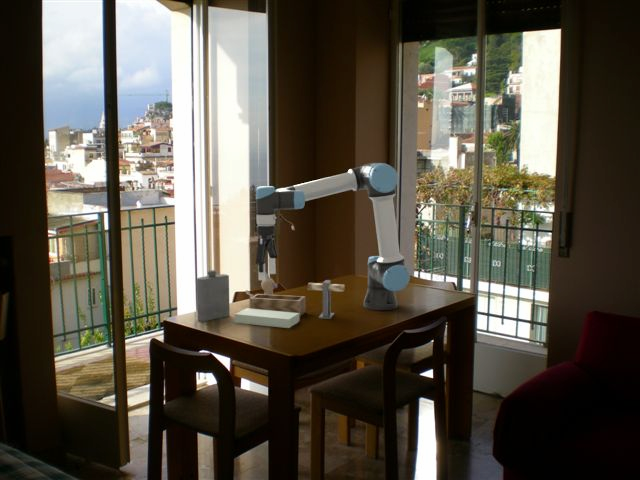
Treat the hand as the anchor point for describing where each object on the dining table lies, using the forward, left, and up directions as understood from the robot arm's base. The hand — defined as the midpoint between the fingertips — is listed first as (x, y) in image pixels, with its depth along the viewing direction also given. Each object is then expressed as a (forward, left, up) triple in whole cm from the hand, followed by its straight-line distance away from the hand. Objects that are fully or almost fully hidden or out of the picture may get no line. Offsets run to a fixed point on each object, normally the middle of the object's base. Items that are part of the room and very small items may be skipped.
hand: (267, 276), depth 279 cm
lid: (0, 0, -19) cm, 19 cm away
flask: (+24, -1, -19) cm, 31 cm away
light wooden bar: (-21, -15, -8) cm, 27 cm away
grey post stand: (-21, -15, -19) cm, 32 cm away
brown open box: (0, -15, -19) cm, 24 cm away
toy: (+12, -29, -19) cm, 37 cm away
